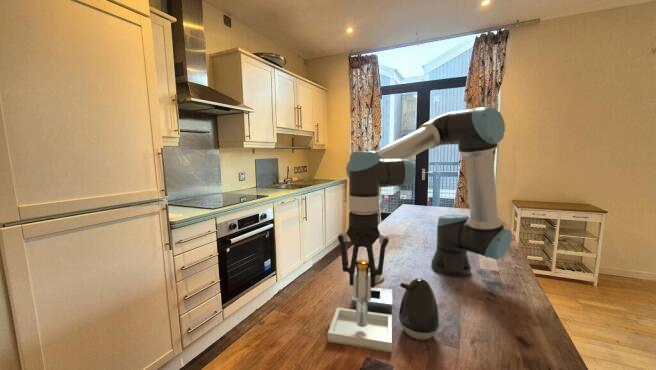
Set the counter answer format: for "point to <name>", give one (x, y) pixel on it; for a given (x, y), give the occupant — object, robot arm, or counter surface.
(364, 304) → the pin
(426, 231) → the counter surface
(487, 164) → the robot arm
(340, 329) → the tray
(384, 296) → the block
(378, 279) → the mechanical component
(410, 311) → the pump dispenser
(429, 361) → the counter surface
